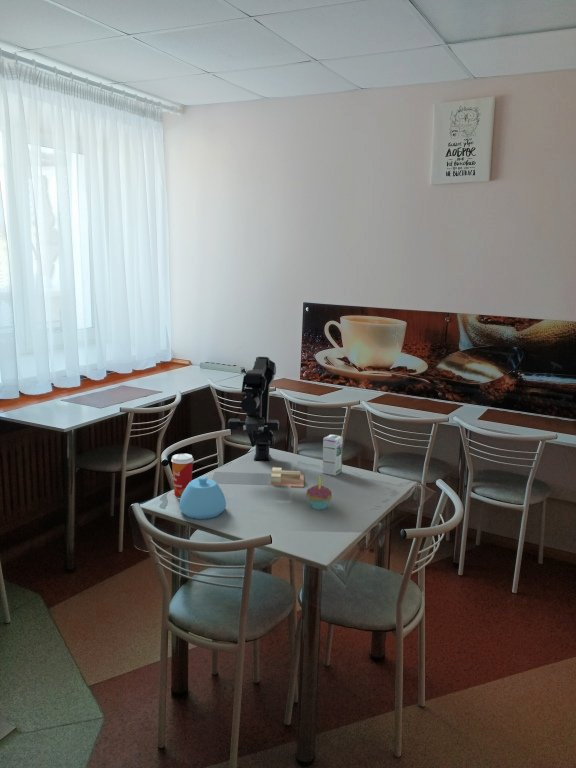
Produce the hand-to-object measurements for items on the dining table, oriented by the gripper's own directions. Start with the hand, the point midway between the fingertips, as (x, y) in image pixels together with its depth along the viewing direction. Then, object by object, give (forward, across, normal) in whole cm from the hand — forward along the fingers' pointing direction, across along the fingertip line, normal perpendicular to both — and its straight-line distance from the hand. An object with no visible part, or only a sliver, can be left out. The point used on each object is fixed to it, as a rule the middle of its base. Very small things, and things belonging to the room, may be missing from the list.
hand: (253, 446), depth 235 cm
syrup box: (+12, +30, +8) cm, 33 cm away
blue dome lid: (+12, -14, -33) cm, 38 cm away
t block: (+11, +13, -4) cm, 17 cm away
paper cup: (+12, -23, -20) cm, 33 cm away
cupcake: (+12, +24, -26) cm, 38 cm away
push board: (+12, +2, -3) cm, 13 cm away
